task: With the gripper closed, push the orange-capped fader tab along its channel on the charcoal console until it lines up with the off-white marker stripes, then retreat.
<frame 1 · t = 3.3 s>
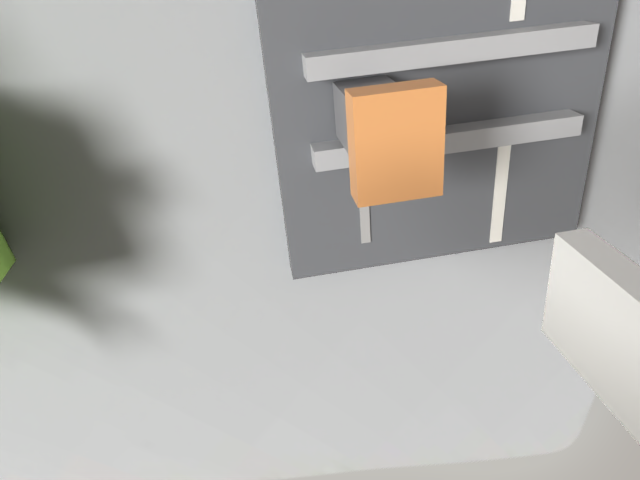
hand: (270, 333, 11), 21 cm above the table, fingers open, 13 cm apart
fader: (378, 124, 26), point 6 cm above the table, slide at -5.0 cm
console: (434, 87, 31), on the table
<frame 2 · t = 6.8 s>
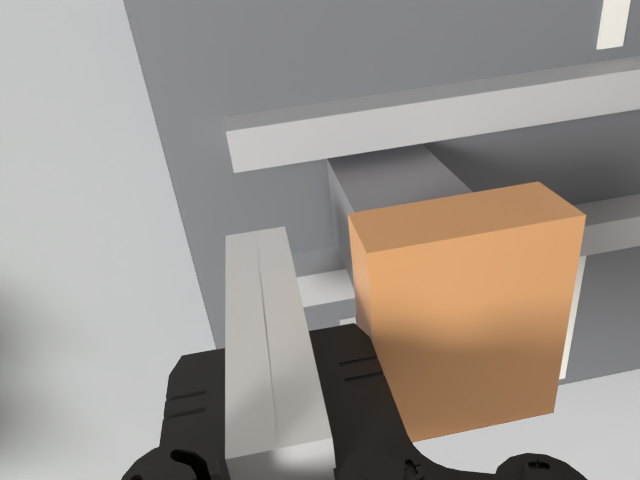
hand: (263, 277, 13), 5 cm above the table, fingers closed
fader: (412, 250, 13), point 6 cm above the table, slide at -3.7 cm, touching gripper
console: (462, 157, 19), on the table
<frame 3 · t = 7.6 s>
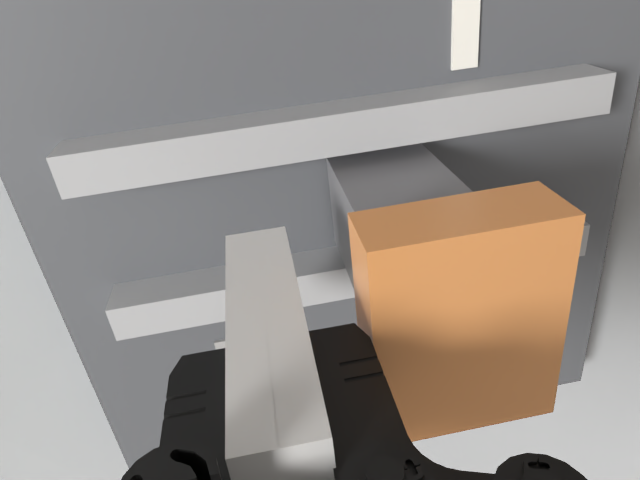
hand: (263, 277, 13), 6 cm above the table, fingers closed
fader: (412, 249, 13), point 6 cm above the table, slide at 1.0 cm, touching gripper
console: (335, 177, 18), on the table
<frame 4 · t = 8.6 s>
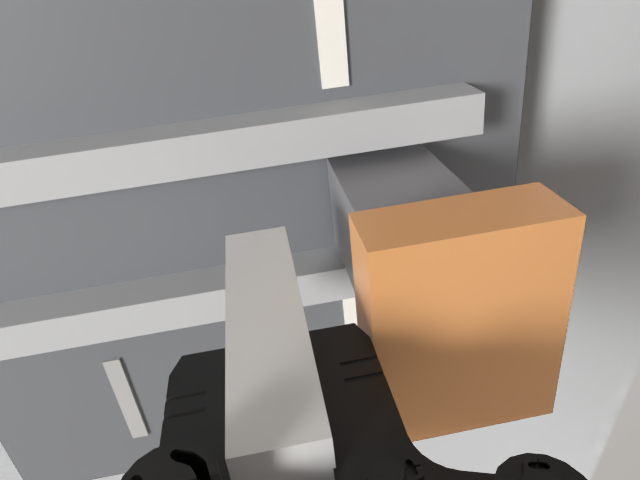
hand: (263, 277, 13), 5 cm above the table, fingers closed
fader: (412, 250, 13), point 6 cm above the table, slide at 5.0 cm, touching gripper
console: (223, 195, 18), on the table
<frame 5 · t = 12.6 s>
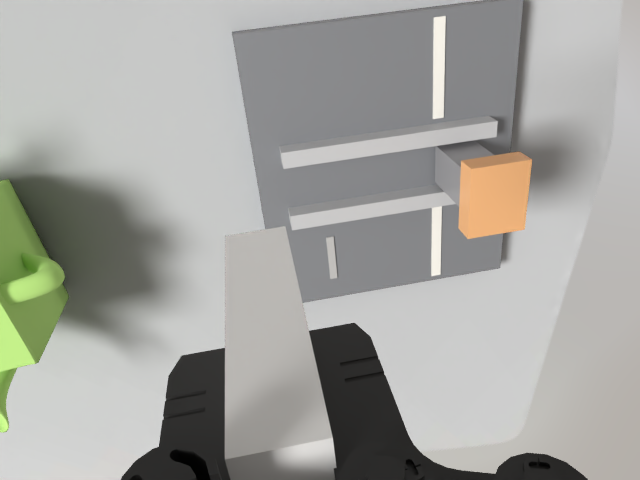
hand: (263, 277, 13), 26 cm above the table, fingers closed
fader: (474, 179, 37), point 6 cm above the table, slide at 5.2 cm
console: (382, 163, 41), on the table
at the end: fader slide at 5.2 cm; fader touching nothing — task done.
